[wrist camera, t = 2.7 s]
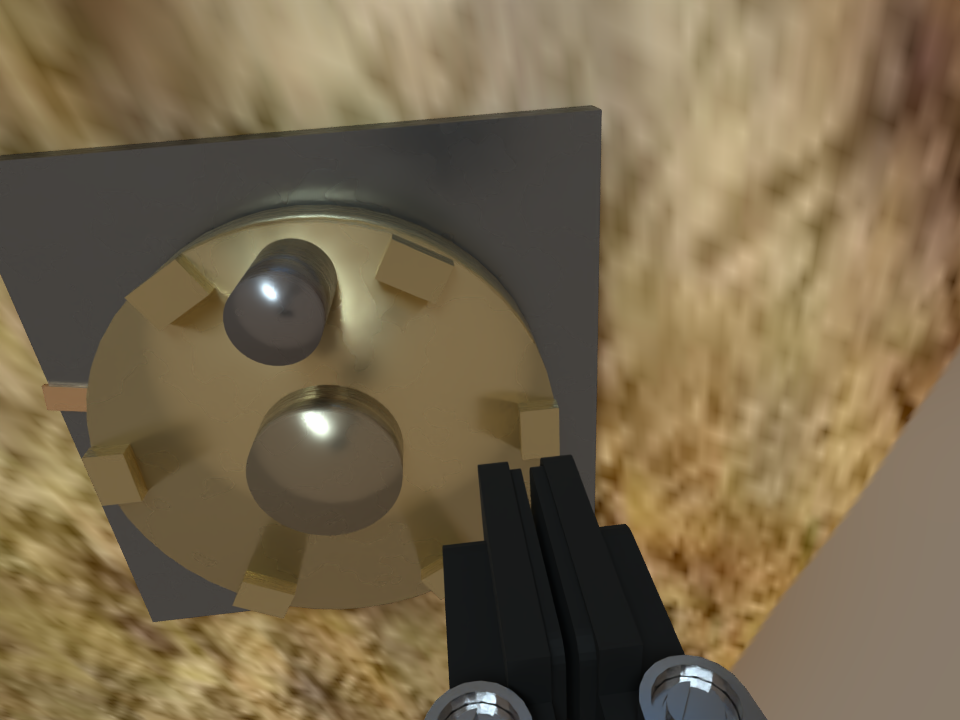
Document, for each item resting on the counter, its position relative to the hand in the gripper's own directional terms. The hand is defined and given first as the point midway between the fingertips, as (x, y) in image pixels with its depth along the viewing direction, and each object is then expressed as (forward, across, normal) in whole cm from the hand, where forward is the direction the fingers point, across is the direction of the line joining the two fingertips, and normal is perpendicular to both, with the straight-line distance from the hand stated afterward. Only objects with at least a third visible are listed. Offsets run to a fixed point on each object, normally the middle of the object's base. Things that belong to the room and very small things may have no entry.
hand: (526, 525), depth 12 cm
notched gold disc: (+17, +6, +7) cm, 19 cm away
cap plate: (+18, +6, +7) cm, 21 cm away
